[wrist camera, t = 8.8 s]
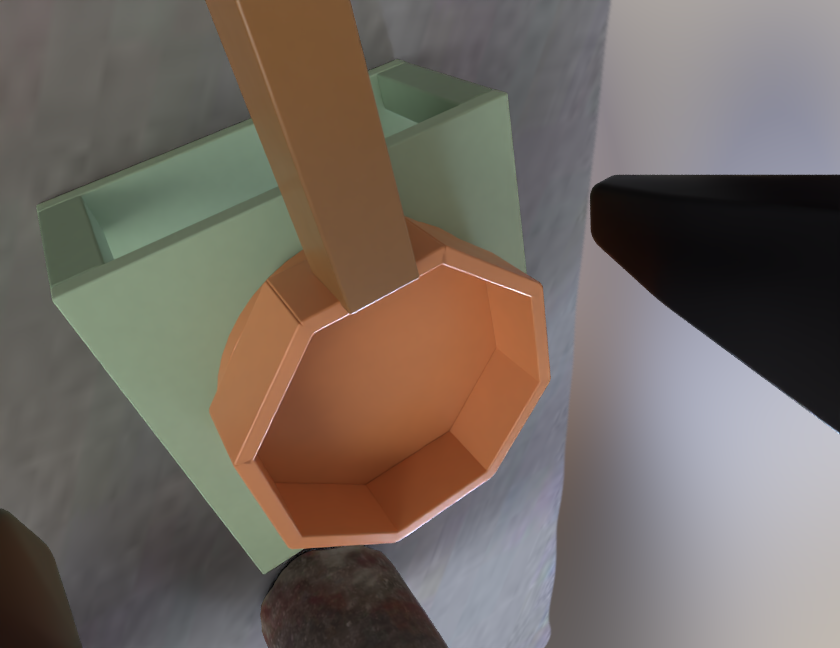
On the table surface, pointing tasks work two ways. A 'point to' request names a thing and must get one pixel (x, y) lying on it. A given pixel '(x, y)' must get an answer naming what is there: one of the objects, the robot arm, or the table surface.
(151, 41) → the table surface
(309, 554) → the candle
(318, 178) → the pan
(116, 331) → the shelf
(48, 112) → the table surface
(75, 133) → the table surface
